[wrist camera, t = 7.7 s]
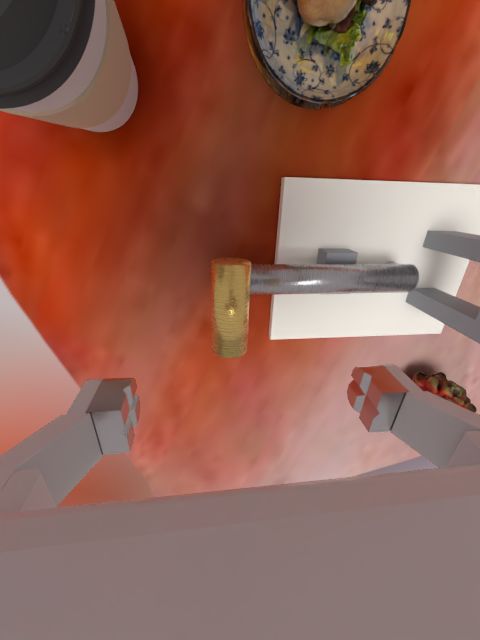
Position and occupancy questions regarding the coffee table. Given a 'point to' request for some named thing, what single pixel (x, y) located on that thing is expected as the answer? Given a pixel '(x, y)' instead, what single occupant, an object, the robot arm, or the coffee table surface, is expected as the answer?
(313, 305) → the board
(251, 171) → the coffee table surface
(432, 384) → the dragon fruit
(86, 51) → the coffee cup
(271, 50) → the burger
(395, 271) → the hook
